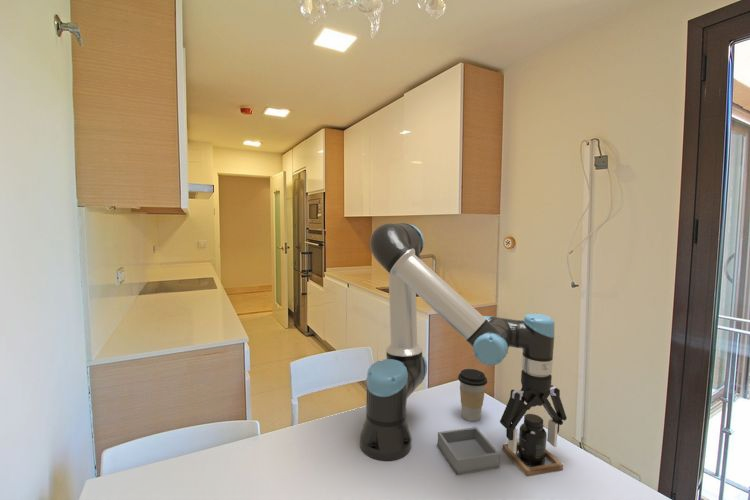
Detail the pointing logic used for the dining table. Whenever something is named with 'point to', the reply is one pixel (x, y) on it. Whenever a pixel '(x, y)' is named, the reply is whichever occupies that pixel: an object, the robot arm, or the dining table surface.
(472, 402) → the coffee cup
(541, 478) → the dining table surface
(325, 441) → the dining table surface
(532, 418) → the supplement bottle
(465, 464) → the bin
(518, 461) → the wooden square frame
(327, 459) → the dining table surface
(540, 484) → the dining table surface
